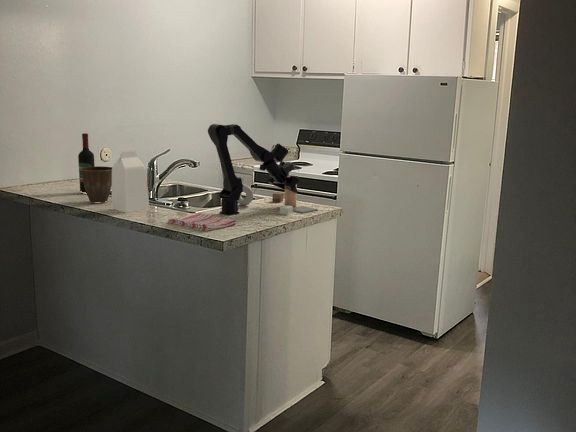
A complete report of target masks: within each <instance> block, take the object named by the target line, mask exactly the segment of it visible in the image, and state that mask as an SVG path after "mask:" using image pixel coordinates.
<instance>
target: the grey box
mask: <svg viewBox="0 0 576 432" xmlns="http://www.w3.org/2000/svg"><path fill="white" fill-rule="evenodd" d="M292 213H294V211H293V206H286V205H282V206H281V207H279V214H280V215H287V216H288V215H290V214H292Z"/></svg>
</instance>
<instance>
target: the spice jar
mask: <svg viewBox="0 0 576 432" xmlns="http://www.w3.org/2000/svg"><path fill="white" fill-rule="evenodd" d="M290 176H291V175H288V176H287V177H290ZM297 184H298V183H297ZM297 184H296V188H298V185H297ZM297 193H298V192H297ZM297 193H294V192H292V191H290V190H288V189H286V186H285V190H284V201H283V203H284V205H286V206H293V207H294V206H295V207H297V196H298V195H297ZM284 205H283V206H284Z"/></svg>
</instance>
